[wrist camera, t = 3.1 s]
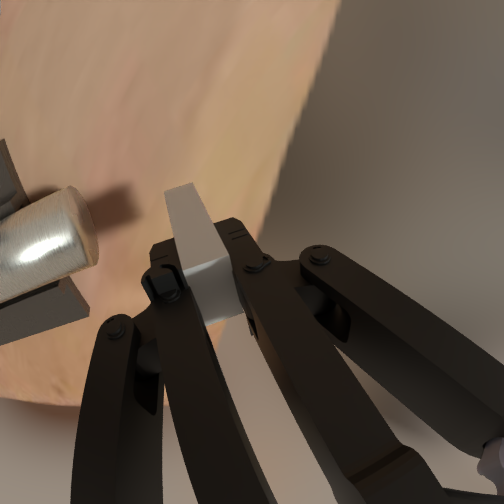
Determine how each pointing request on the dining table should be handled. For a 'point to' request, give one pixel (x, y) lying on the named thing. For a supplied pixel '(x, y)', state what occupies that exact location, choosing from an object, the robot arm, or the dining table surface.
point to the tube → (46, 243)
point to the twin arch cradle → (40, 299)
